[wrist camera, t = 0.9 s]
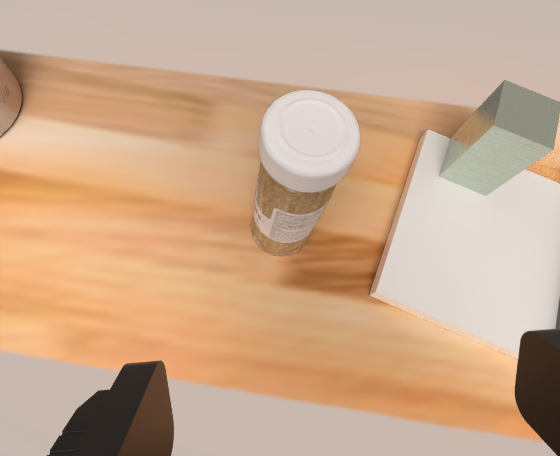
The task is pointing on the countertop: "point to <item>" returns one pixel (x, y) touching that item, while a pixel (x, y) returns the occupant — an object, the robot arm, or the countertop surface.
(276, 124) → the spice jar
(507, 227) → the tray
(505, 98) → the tea tin
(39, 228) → the countertop surface
